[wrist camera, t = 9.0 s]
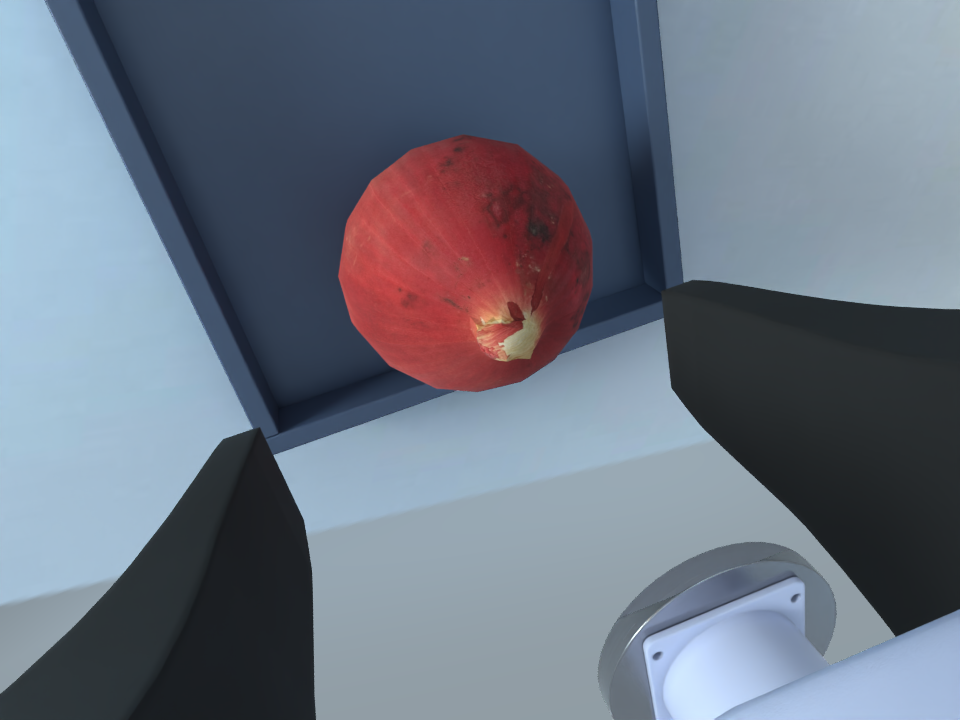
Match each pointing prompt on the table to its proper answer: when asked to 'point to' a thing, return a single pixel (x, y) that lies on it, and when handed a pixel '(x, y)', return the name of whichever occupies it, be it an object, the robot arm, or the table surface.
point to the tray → (367, 160)
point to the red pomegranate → (467, 264)
